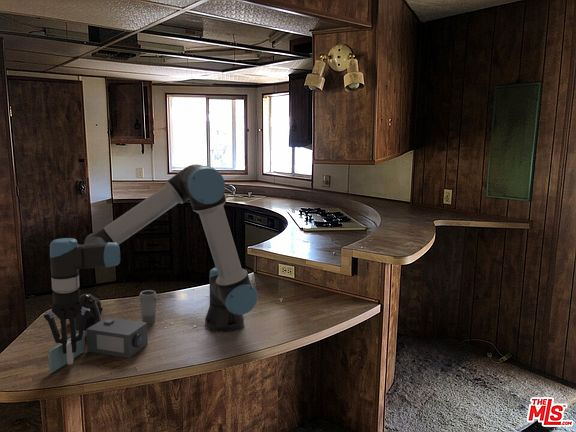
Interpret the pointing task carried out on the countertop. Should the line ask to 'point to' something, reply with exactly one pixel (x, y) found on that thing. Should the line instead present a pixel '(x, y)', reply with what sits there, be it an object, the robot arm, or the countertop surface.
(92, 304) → the black egg shape
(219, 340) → the countertop surface
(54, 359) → the side door
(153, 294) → the cup
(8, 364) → the countertop surface
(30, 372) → the countertop surface
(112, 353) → the box
